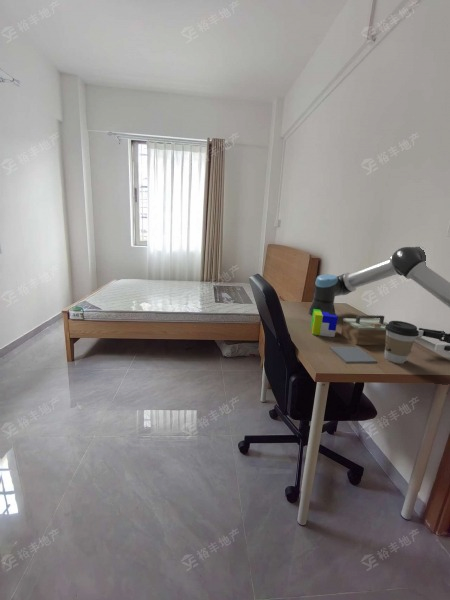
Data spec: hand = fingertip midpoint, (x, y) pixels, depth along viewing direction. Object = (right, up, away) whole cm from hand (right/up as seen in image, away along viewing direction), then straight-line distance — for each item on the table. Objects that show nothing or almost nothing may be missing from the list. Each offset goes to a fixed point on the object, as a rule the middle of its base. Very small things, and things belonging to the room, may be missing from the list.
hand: (421, 339), depth 110 cm
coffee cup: (-10, -8, +1) cm, 13 cm away
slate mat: (-26, -7, +3) cm, 27 cm away
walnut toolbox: (-11, -2, +21) cm, 24 cm away
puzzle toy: (-30, 0, +27) cm, 40 cm away
